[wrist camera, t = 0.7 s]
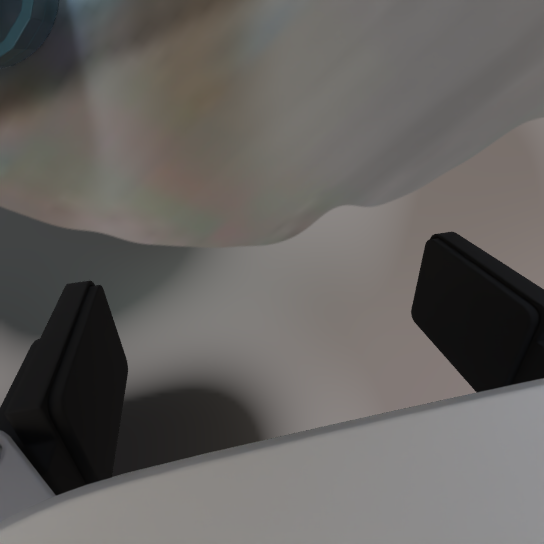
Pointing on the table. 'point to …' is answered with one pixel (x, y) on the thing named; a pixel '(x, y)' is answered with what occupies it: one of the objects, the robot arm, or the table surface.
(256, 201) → the table surface
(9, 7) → the dark teal bowl
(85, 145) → the table surface
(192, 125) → the table surface
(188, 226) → the table surface
